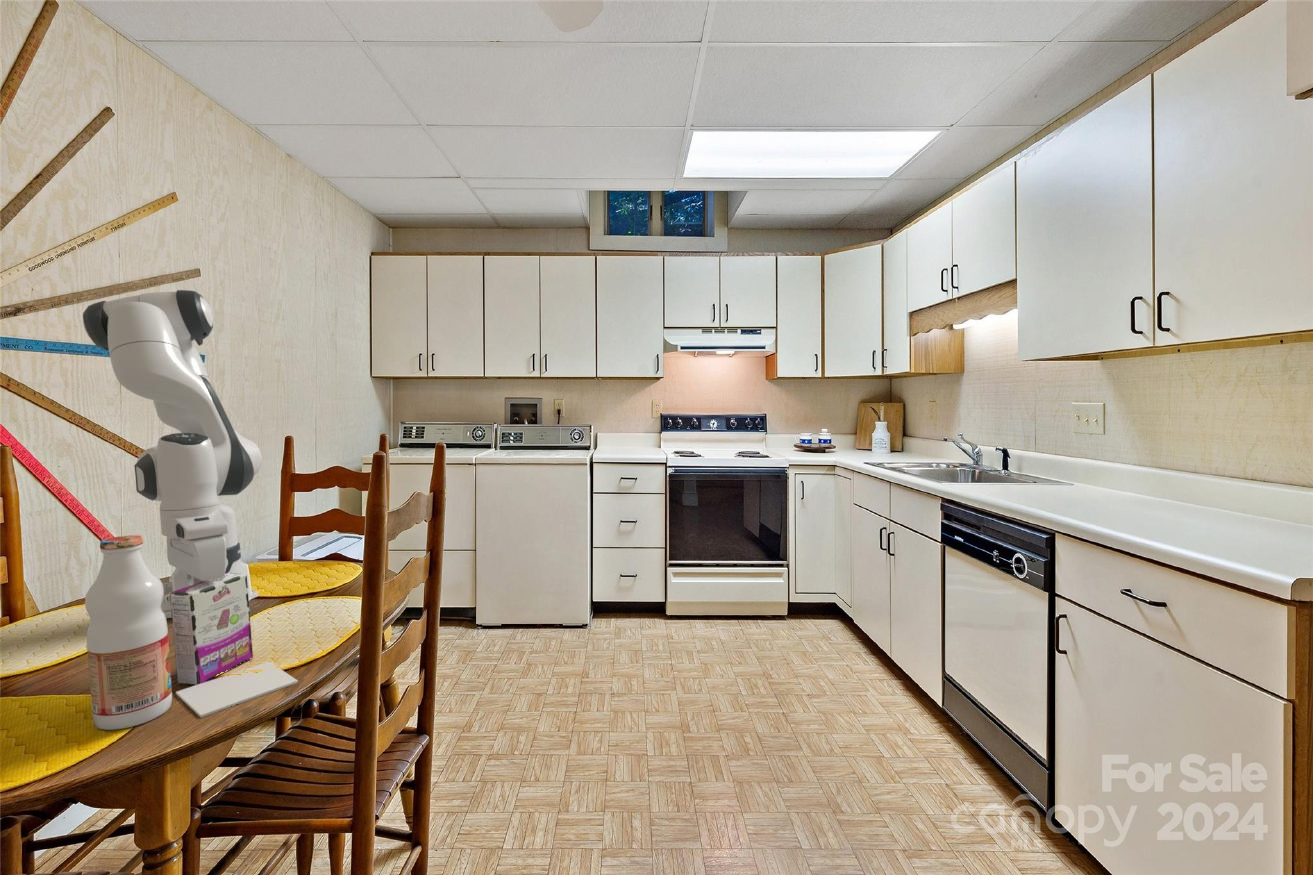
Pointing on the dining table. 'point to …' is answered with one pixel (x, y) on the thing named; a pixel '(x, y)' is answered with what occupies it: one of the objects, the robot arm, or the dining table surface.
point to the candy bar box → (211, 627)
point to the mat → (235, 689)
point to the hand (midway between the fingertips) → (197, 595)
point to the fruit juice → (127, 639)
